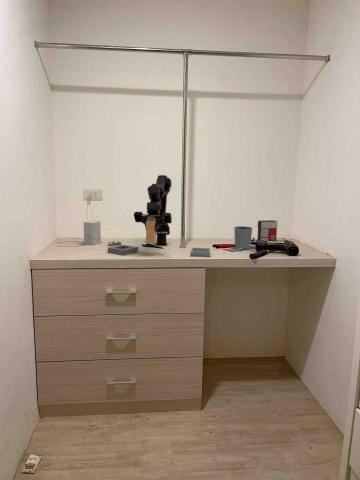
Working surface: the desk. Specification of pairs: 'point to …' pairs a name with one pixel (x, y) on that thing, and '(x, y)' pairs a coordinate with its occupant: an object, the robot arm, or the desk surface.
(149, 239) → the plug
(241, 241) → the blue-grey cup
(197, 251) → the tray
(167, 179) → the robot arm
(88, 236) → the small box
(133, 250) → the socket block
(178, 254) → the desk surface
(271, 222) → the grey upright box
